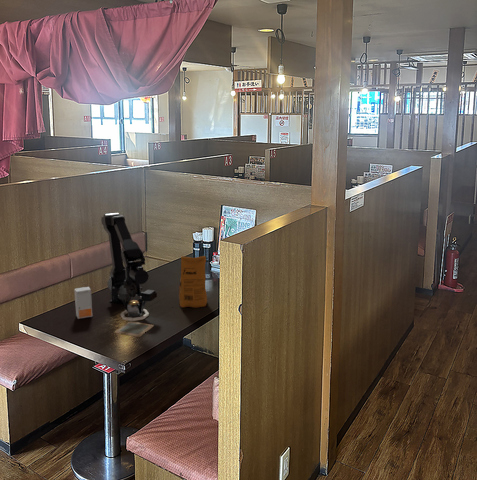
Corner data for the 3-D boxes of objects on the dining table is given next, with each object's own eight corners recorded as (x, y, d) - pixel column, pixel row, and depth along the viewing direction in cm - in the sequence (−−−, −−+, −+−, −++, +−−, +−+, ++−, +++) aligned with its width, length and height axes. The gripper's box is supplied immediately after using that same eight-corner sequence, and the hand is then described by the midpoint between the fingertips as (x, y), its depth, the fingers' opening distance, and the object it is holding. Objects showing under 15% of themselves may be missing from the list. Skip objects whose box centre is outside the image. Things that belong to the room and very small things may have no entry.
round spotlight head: (124, 317, 211) (123, 304, 209) (133, 311, 217) (132, 298, 216) (136, 319, 209) (135, 306, 207) (145, 313, 216) (144, 300, 214)
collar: (116, 318, 210) (116, 316, 210) (130, 308, 220) (130, 307, 220) (139, 322, 206) (139, 320, 206) (152, 312, 216) (152, 310, 216)
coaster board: (114, 332, 197) (114, 331, 197) (129, 321, 207) (129, 320, 207) (139, 337, 193) (139, 336, 193) (153, 325, 203) (153, 324, 203)
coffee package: (180, 299, 231) (178, 253, 225) (207, 299, 231) (207, 253, 225) (177, 308, 221) (176, 259, 215) (206, 308, 221) (206, 259, 216)
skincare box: (78, 319, 209) (75, 291, 206) (76, 315, 213) (73, 288, 209) (93, 316, 212) (91, 289, 209) (90, 313, 215) (88, 286, 212)
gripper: (101, 280, 205) (104, 316, 209) (142, 286, 198) (144, 323, 202) (117, 272, 215) (119, 306, 219) (156, 277, 209) (158, 312, 213)
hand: (134, 312), depth 213 cm, fingers closed on round spotlight head, 6 cm apart
